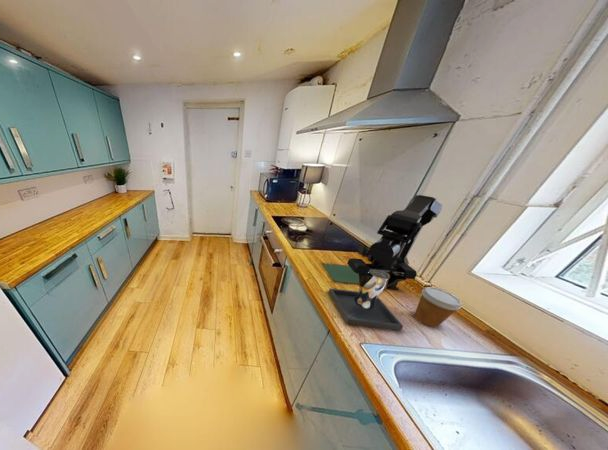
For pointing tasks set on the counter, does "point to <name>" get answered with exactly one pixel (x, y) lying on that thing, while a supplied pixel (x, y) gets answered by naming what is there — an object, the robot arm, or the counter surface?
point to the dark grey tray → (363, 311)
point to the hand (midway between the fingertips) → (371, 286)
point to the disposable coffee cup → (436, 306)
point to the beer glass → (372, 289)
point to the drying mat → (342, 273)
